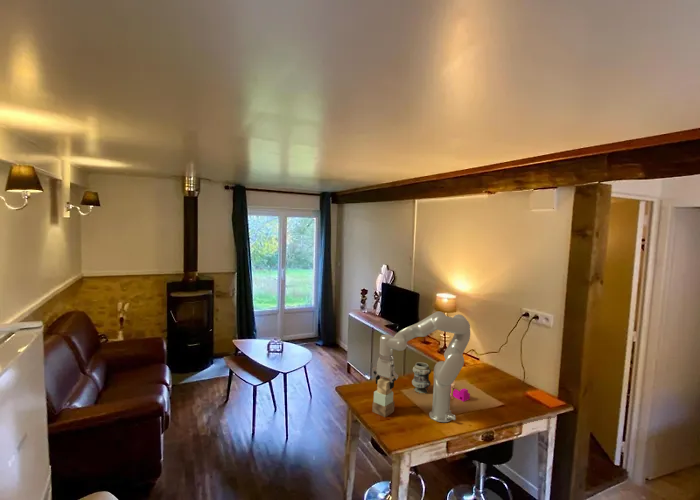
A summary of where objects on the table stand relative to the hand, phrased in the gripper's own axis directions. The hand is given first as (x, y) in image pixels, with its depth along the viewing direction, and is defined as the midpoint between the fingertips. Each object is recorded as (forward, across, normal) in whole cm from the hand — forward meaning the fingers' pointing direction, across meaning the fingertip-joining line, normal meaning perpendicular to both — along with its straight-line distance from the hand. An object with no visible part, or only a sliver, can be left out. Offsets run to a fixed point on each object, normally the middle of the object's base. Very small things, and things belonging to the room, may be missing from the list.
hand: (384, 385), depth 214 cm
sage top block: (+10, 0, 0) cm, 10 cm away
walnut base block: (+16, 0, 0) cm, 16 cm away
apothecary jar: (+16, -2, -40) cm, 43 cm away
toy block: (+16, -23, -49) cm, 56 cm away
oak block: (+4, 0, 0) cm, 4 cm away
